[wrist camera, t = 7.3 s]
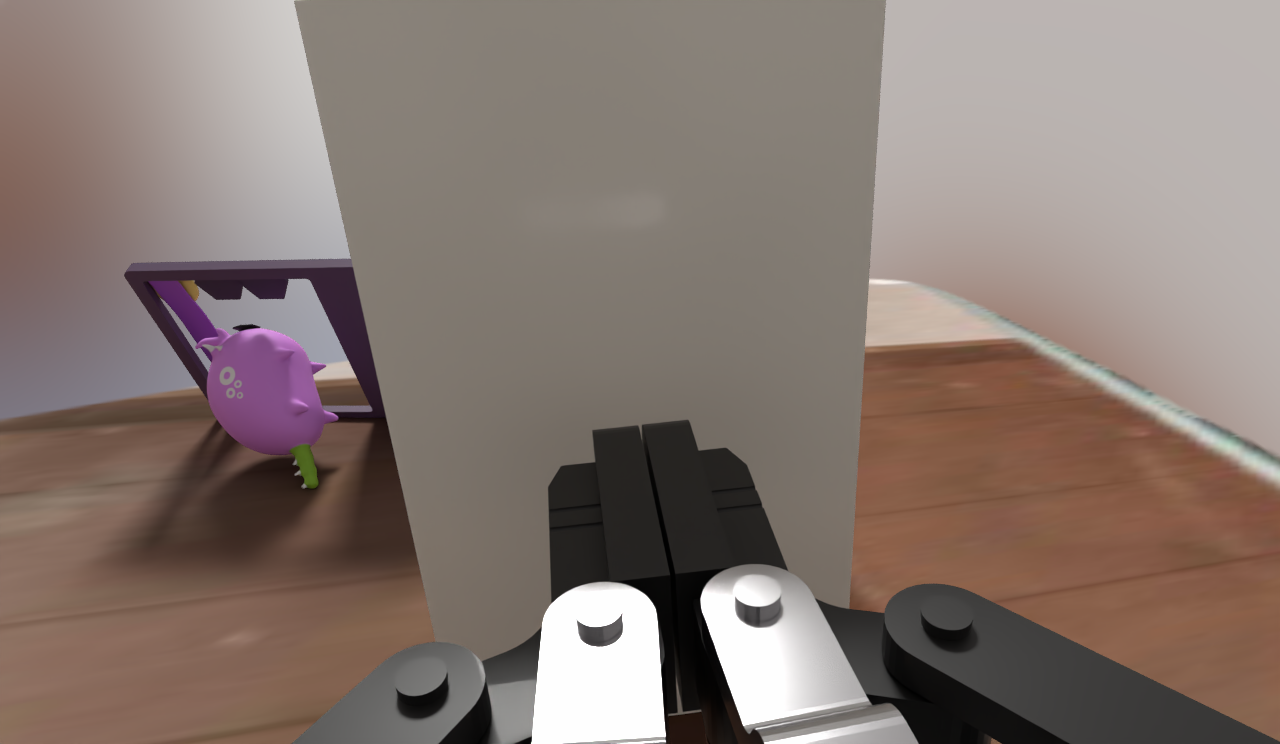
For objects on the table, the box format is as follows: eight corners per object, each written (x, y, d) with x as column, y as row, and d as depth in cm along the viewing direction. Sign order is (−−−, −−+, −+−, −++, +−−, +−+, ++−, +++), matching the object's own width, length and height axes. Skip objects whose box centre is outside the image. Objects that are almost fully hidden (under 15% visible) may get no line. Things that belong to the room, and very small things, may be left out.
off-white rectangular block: (458, 744, 18) (294, 0, 12) (466, 649, 21) (332, -15, 14) (843, 692, 19) (888, -44, 12) (808, 606, 21) (830, -51, 15)
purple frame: (425, 240, 26) (138, 246, 27) (374, 373, 22) (47, 373, 24) (478, 394, 31) (233, 394, 32) (443, 523, 27) (168, 518, 28)
